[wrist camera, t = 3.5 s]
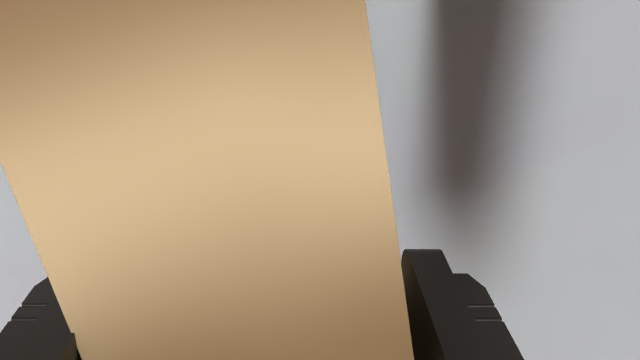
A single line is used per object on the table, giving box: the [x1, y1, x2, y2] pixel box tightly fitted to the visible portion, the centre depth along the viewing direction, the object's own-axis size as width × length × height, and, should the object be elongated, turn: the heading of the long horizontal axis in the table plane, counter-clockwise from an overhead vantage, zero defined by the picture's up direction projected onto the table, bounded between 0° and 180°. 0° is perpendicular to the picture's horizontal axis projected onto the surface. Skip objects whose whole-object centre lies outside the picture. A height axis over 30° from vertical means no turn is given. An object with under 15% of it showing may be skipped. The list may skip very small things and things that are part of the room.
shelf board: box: [0, 0, 414, 360], centre depth 11 cm, size 14×5×4 cm, turn 10°
